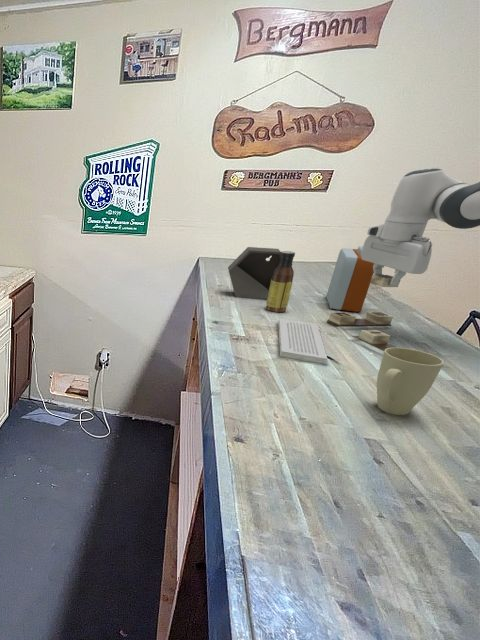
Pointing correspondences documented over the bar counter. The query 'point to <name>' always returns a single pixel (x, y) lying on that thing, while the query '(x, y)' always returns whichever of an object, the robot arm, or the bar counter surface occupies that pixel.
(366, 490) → the bar counter surface
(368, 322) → the back rack
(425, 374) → the mug
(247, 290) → the planter
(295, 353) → the plaque
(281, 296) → the sauce bottle
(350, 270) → the orange grey tall block
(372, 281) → the s tile
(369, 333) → the front rack
